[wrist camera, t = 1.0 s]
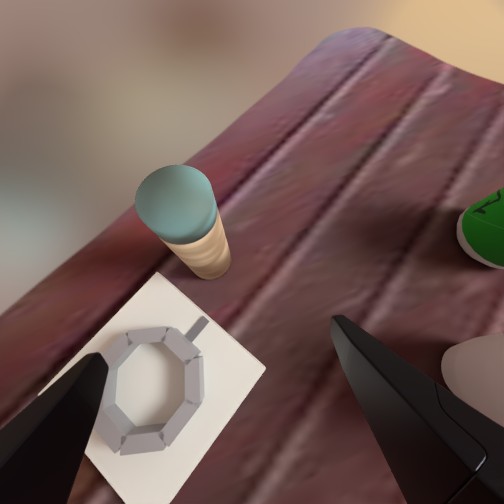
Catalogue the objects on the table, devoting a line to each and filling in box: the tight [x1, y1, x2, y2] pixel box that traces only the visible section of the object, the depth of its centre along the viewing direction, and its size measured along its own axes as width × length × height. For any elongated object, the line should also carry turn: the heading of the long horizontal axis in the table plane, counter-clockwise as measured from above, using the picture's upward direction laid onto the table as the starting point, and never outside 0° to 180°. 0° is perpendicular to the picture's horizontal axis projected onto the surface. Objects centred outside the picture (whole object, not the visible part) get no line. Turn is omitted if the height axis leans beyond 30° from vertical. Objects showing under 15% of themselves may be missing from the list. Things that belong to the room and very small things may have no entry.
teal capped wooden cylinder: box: [135, 165, 231, 280], centre depth 19 cm, size 4×4×12 cm
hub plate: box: [38, 272, 266, 504], centre depth 20 cm, size 14×14×3 cm
